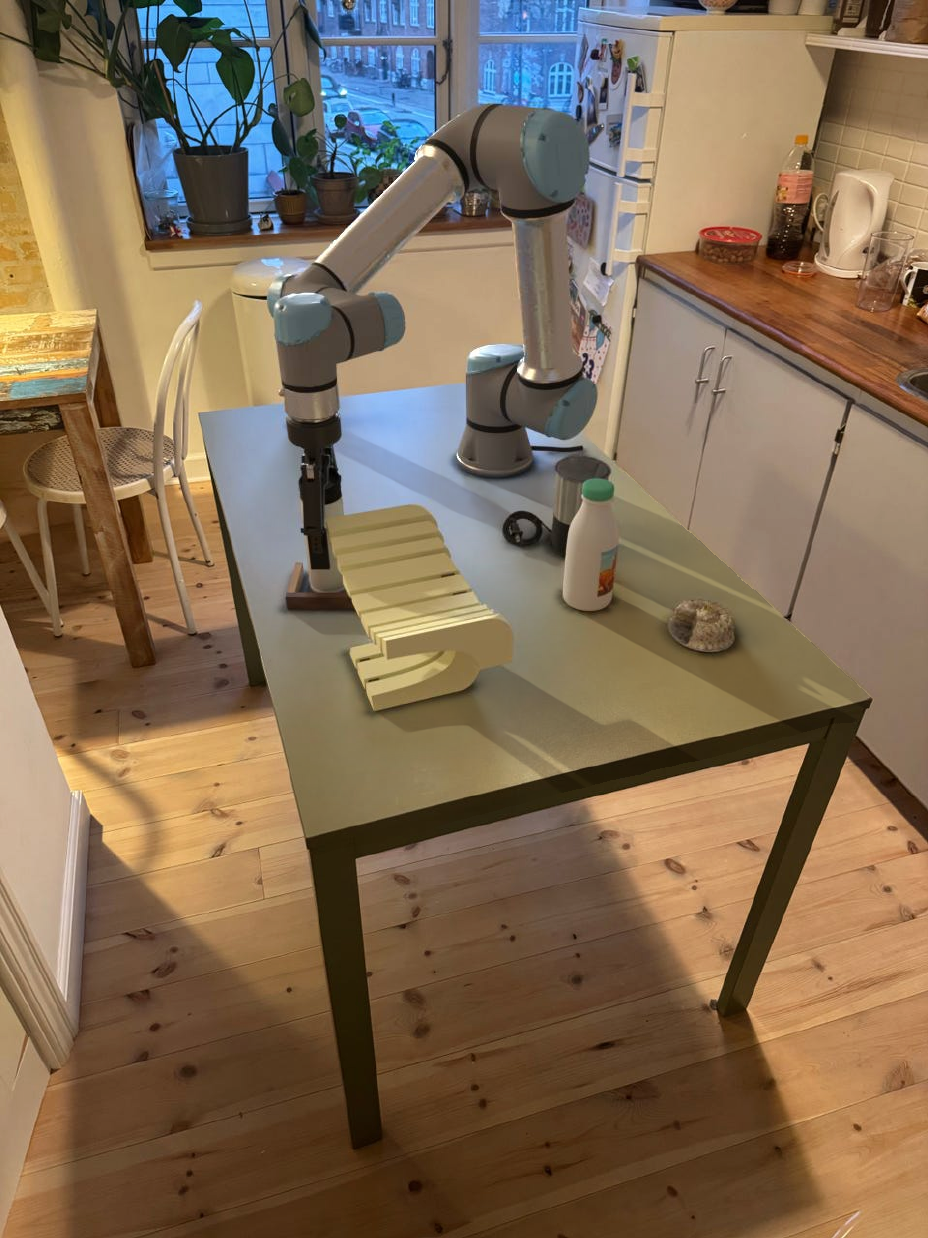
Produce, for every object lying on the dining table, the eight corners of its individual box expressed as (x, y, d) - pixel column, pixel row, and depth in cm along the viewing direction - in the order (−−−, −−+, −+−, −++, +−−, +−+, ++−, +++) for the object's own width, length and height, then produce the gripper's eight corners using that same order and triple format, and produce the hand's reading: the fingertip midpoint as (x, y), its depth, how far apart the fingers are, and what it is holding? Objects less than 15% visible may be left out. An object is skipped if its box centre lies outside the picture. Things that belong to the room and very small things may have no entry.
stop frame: (372, 574, 144) (371, 562, 143) (367, 609, 136) (366, 597, 134) (296, 574, 144) (295, 562, 143) (287, 609, 136) (285, 597, 134)
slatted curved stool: (509, 723, 115) (514, 612, 105) (392, 753, 111) (385, 640, 100) (435, 601, 138) (433, 500, 127) (335, 621, 133) (325, 518, 123)
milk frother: (612, 553, 150) (622, 474, 141) (529, 572, 145) (534, 492, 136) (572, 515, 160) (579, 440, 152) (493, 532, 155) (496, 455, 147)
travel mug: (358, 582, 142) (349, 469, 130) (337, 603, 137) (325, 488, 125) (325, 574, 144) (313, 462, 132) (303, 594, 139) (288, 480, 128)
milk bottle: (579, 617, 134) (591, 501, 123) (552, 592, 140) (561, 478, 128) (621, 604, 137) (636, 489, 126) (593, 580, 143) (605, 468, 131)
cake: (709, 610, 137) (718, 581, 134) (747, 648, 129) (757, 618, 126) (654, 619, 134) (662, 589, 131) (690, 658, 126) (699, 628, 123)
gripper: (299, 379, 132) (312, 504, 145) (269, 451, 112) (289, 589, 124) (348, 379, 132) (358, 504, 145) (328, 451, 112) (342, 589, 124)
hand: (326, 544), depth 135 cm, fingers open, 13 cm apart
